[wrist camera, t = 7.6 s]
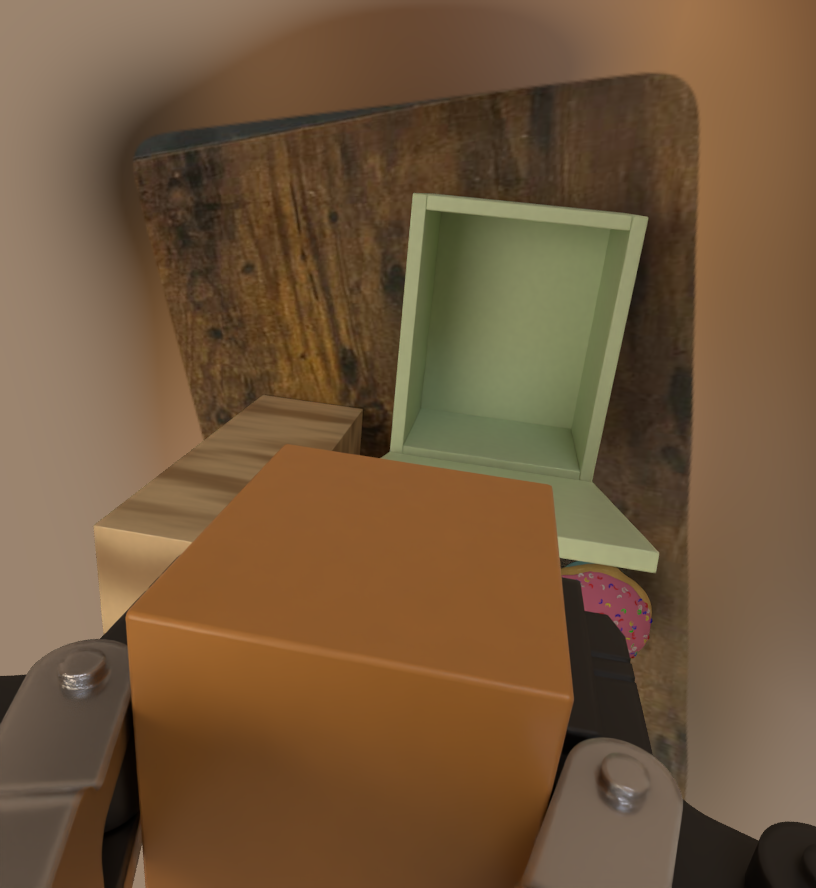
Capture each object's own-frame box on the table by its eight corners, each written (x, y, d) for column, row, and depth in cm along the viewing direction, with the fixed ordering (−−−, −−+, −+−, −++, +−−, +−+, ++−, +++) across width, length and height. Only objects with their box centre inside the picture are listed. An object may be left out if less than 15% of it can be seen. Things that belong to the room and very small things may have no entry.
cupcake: (565, 644, 55) (576, 758, 44) (510, 567, 53) (507, 665, 42) (661, 601, 52) (699, 711, 41) (606, 518, 50) (630, 609, 39)
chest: (432, 193, 44) (412, 193, 36) (624, 212, 43) (649, 217, 35) (411, 412, 50) (389, 455, 42) (579, 436, 48) (591, 485, 40)
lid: (319, 498, 25) (305, 626, 26) (659, 552, 24) (635, 686, 24) (388, 451, 41) (378, 530, 42) (593, 482, 40) (579, 563, 40)
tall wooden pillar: (263, 394, 51) (92, 525, 31) (363, 408, 50) (255, 552, 30) (262, 487, 54) (105, 662, 34) (356, 502, 53) (254, 691, 33)
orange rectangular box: (284, 441, 11) (120, 612, 7) (553, 483, 11) (576, 698, 6) (277, 672, 13) (145, 930, 9) (506, 717, 13) (497, 1017, 8)
